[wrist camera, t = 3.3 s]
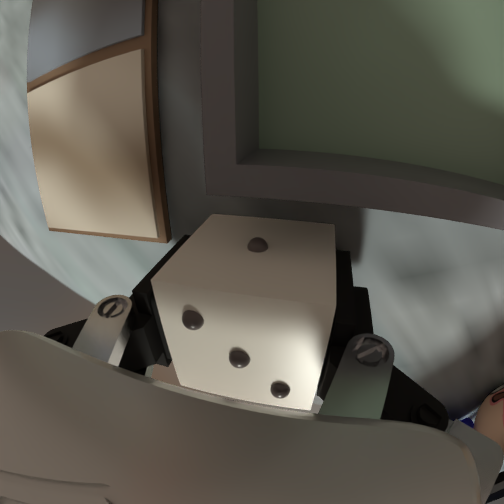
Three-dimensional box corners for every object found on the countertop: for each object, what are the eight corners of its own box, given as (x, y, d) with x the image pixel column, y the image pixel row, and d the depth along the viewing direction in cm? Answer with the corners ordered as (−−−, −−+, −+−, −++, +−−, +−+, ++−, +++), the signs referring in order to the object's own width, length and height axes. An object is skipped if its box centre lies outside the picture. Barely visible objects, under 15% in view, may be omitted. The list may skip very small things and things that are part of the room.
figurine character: (384, 451, 20) (536, 386, 11) (371, 523, 14) (548, 477, 5) (339, 432, 19) (523, 350, 10) (318, 517, 13) (544, 470, 4)
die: (204, 205, 11) (132, 274, 7) (335, 216, 10) (338, 303, 6) (213, 306, 13) (169, 389, 9) (320, 321, 12) (309, 417, 8)
